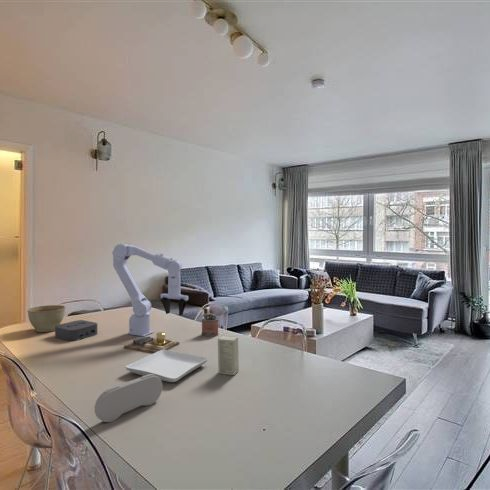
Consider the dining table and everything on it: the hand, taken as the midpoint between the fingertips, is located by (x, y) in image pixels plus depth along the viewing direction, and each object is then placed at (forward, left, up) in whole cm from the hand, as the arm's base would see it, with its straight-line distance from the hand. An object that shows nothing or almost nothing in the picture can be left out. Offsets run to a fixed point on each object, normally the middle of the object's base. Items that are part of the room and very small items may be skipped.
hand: (174, 314), depth 169 cm
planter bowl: (-60, -21, -10) cm, 64 cm away
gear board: (+2, -19, -9) cm, 21 cm away
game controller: (+32, -66, -10) cm, 74 cm away
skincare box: (+44, -31, -10) cm, 55 cm away
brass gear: (+6, -19, -9) cm, 22 cm away
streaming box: (-40, -21, -10) cm, 46 cm away
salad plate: (+24, -38, -10) cm, 46 cm away
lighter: (+16, +6, -10) cm, 20 cm away
